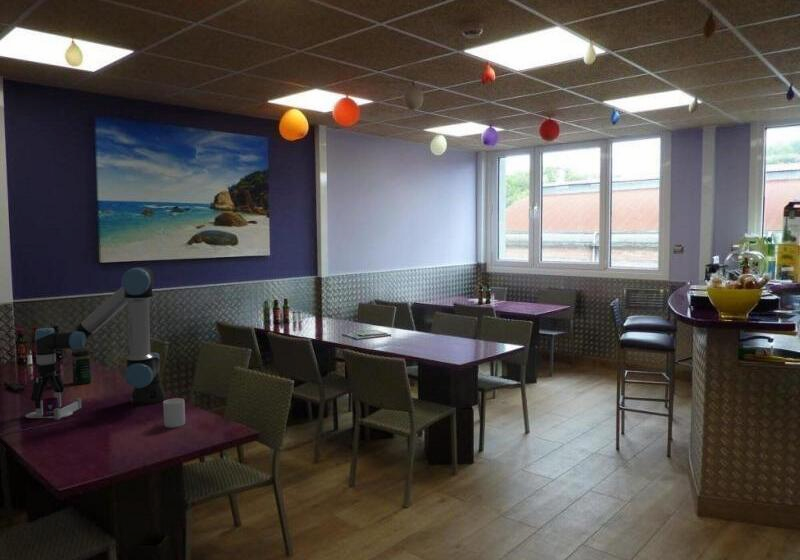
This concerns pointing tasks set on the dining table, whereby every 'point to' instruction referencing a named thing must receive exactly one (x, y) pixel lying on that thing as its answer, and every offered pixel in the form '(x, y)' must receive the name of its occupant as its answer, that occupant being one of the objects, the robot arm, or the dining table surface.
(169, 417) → the cup
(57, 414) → the divider wall
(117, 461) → the dining table surface
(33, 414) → the pad
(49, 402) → the cup
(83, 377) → the coffee jar
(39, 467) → the dining table surface
